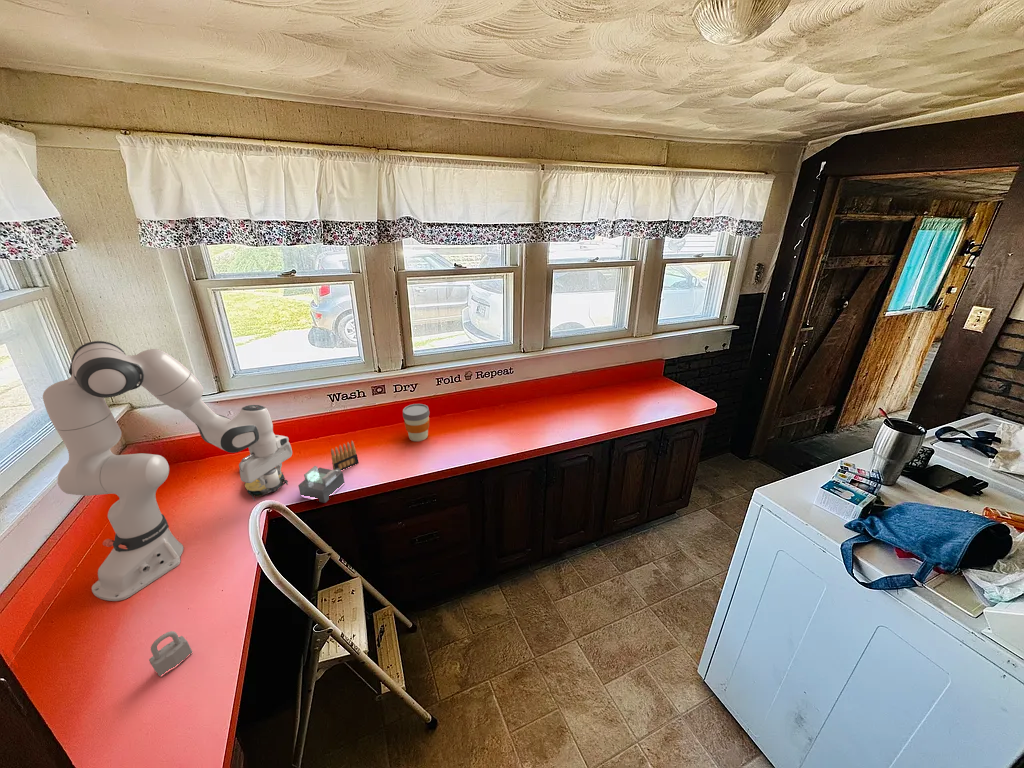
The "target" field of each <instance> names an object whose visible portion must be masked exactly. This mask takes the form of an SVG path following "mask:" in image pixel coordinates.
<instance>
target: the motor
mask: <svg viewBox="0 0 1024 768" xmlns="http://www.w3.org/2000/svg"><path fill="white" fill-rule="evenodd" d="M303 476H304V479H303V481H302V482H300V483H299V484H298V489H299V495H300V496H301V495H304V496H310V497H315V498H318V499H319V503H324V504H326V503H327V502H328V501H329V500H330V499H329V495H330V494H332V493H333V492H334V491H335V490H336V489H337V488H339V487H340V486H341V485H342V484H343V483H345V478H344V473H343V471H341V470H340V468H336V469H335V470H333V468H331V469H329V468H324V467H318V466H317V465H314V466H313V467H312V468H310V469H309V470H308V471H307V472H305V473H304V474H303ZM345 484H346V483H345Z"/></svg>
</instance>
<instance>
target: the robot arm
mask: <svg viewBox="0 0 1024 768" xmlns="http://www.w3.org/2000/svg"><path fill="white" fill-rule="evenodd" d="M68 374H69V375H70V377H69V378H67V379H64V380H61V381H57V382H55V383H53V384H51V385H50V386H48V387H47V388H46V389H45V390H44V391H43V394H42V400H43V404H44V406H45V410H46V413H47V416H48V418H49V419H50V421H51V423H52V425H53V427H54V428H55V430H56V432H57V433H58V435H59V437H60V438H61V440H62V442H63V443H64V446H65V448H66V449H67V453H68V460H67V463H65V464H64V466H62V468H61V469H60V471H59V473H58V476H57V485H58V487H59V489H60V490H61V491H62V492H63V493H65V494H67V495H75V496H87V497H88V496H89V497H90V496H100V495H108V494H109V495H110V494H112V495H117V497H118V498H119V499H118V500H117V501H115V502H114V503H113V504H111V506H110V508H109V509H108V511H107V519H108V520H109V523H110V525H111V527H112V529H113V531H114V533H115V534H114V540H113V539H110V538H106V539H104V540H103V541H102V545H103V547H107V548H111V547H113V548H112V549H111V551H110V553H109V554H108V555H107V556H106V558H105V559H104V561H103V562H102V563H101V565H100V566H99V567H98V569H97V579H98V580H97V581H95V583H93V584H92V586H91V592H92V594H93V595H94V596H95V597H96V598H98V599H100V600H102V601H103V600H104V601H110V602H111V601H112V602H119V601H123V600H126V599H128V598H130V597H131V596H133V595H134V594H136V593H137V592H139V591H140V590H142V589H144V588H145V587H147V586H149V585H150V584H151V583H153V582H155V581H156V580H158V579H159V578H161V577H162V576H163V575H165V574H166V573H169V572H170V571H172V570H173V569H174V568H176V567H178V566H179V565H180V563H181V556H182V554H183V552H184V545H183V543H181V542H180V541H178V539H177V538H176V537H175V535H173V534H172V531H171V530H170V528H169V527H170V526H169V522H168V520H167V519H166V517H165V515H164V514H163V513H162V512H161V510H160V508H159V504H158V502H157V496H156V493H157V490H158V489H159V487H161V486H162V485H163V484H164V482H166V480H167V479H168V476H169V474H170V465H169V463H168V461H167V459H166V458H165V457H164V456H162V455H160V454H155V453H154V454H152V453H144V452H143V453H141V452H140V453H129V454H114V453H113V452H112V450H111V449H112V448H113V447H115V446H116V445H117V444H118V443H119V442H120V440H121V438H122V432H123V431H122V430H121V427H120V426H119V424H118V422H117V420H116V418H115V416H114V415H113V413H112V411H111V409H110V407H109V406H108V404H107V402H106V399H107V398H109V399H110V398H114V397H117V396H121V395H123V394H124V393H127V392H129V391H133V390H136V389H138V388H140V387H142V388H143V389H145V390H146V391H147V392H148V393H150V394H151V395H153V397H155V398H156V399H157V400H158V401H160V402H162V403H163V404H165V405H166V406H168V407H170V408H171V409H174V410H178V411H180V412H181V413H182V414H183V415H184V416H186V417H187V418H188V419H189V420H190V421H191V422H193V424H195V426H196V427H197V429H198V431H199V434H200V437H201V439H202V440H203V441H204V442H206V443H208V444H211V445H213V446H215V447H216V448H218V449H220V450H222V451H225V452H228V453H233V454H234V453H236V454H237V453H239V452H242V451H243V450H246V449H247V448H248V451H249V454H248V455H246V456H245V457H243V458H242V459H241V460H240V462H239V463H238V468H239V477H240V481H241V482H242V483H245V482H246V483H252V482H253V481H255V480H256V479H257V480H259V481H260V484H261V485H265V484H267V483H268V482H267V479H263V475H264V474H265V473H267V472H269V471H270V470H272V469H273V468H275V467H276V469H277V472H278V475H280V474H281V472H282V466H283V463H284V462H285V461H287V460H289V459H290V458H292V455H293V450H292V445H291V443H290V442H289V440H290V439H289V437H288V436H285V435H282V434H281V435H279V434H275V433H274V424H273V421H272V420H273V419H272V417H271V414H270V412H269V410H268V408H267V407H265V406H264V405H260V404H249V405H245V406H243V407H242V408H241V409H240V411H239V412H238V414H237V415H236V416H235V417H234V418H232V419H231V418H229V417H227V416H224V415H221V414H218V413H216V412H214V410H212V409H211V407H209V406H208V405H207V404H206V403H205V402H204V401H203V400H202V399H201V398H202V396H203V395H204V386H203V385H202V384H201V382H200V381H199V379H198V378H197V377H196V376H195V374H193V372H191V370H190V369H188V368H187V366H185V365H184V364H182V362H180V361H179V360H177V359H176V358H175V357H173V356H172V355H171V354H169V353H167V352H166V351H164V350H162V349H159V348H150V349H149V348H148V349H146V350H142V351H141V352H139V353H137V354H134V355H133V354H132V355H129V354H128V355H127V354H126V353H125V351H124V350H123V349H122V348H120V347H119V346H118V345H116V344H113V343H111V342H110V341H109V342H108V341H103V340H95V341H88V342H87V343H83V344H82V345H80V346H79V347H78V348H77V349H76V350H75V351H74V353H73V355H72V358H71V362H70V366H69V369H68ZM105 398H106V399H105Z"/></svg>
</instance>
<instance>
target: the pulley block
mask: <svg viewBox="0 0 1024 768" xmlns="http://www.w3.org/2000/svg"><path fill="white" fill-rule="evenodd" d="M275 468H276V467H275ZM278 476H279V480H280V484H279V485H277V486H276V487H273V488H266V487H265V485H261V484H260V481H259V480H257V479H256V480H255V481H253V482H252V483H246V482H244V484H243V485H244V487H245V490H246V491H247V494H248V495H250V496H251V497H252V499H253V501H254V502H256V499H255V497H259V498H260V497H262V496H267V494H270V493H274V492H277V491H278V489H280V488H281V487H282V486H284V485H286V486H288V485H289V483H288V482H289V481H288V480H287V479H286V478H285V474H284V473H283V471H281V474H280V475H278Z"/></svg>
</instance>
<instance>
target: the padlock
mask: <svg viewBox="0 0 1024 768" xmlns="http://www.w3.org/2000/svg"><path fill="white" fill-rule="evenodd" d="M169 637H171V638H172V641H171V642H169V643H167V644H166V645H164V646H163V647H162V648H160V649H158V645H159V644H160V643H162V642H163V641H164V640H165V639H168V638H169ZM150 646H151V647H150V652H151V654H152V656H151V657H150V658H148V661H149V664H150V665H151V666H152V668H153V670H154V672H155V671H156V672H157V673H158V674H157V673H156V672H155V673H156V674H157V675H158V677H159V676H161V675H162V674H164V673H165V672H166V671H168V670H169V669H171V668H173V667H175V666H176V665H177V664H179V663H180V662H181V661H182V660H184V659H185V658H186V657H187V656H188V655H189V654H191V653H192V652H193V650H192V648H191V646H190V644H189V642H188V640H187V639H186V638H185V637H184V636H183V635H180V636H179V635H178V633H177V632H176V631H173V630H171V631H167V632H165V633H164V634H162V635H160V636H159V637H157V639H155V640H154V642H153V643H152V644H151V645H150ZM192 654H193V653H192ZM192 654H191V655H192Z"/></svg>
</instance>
